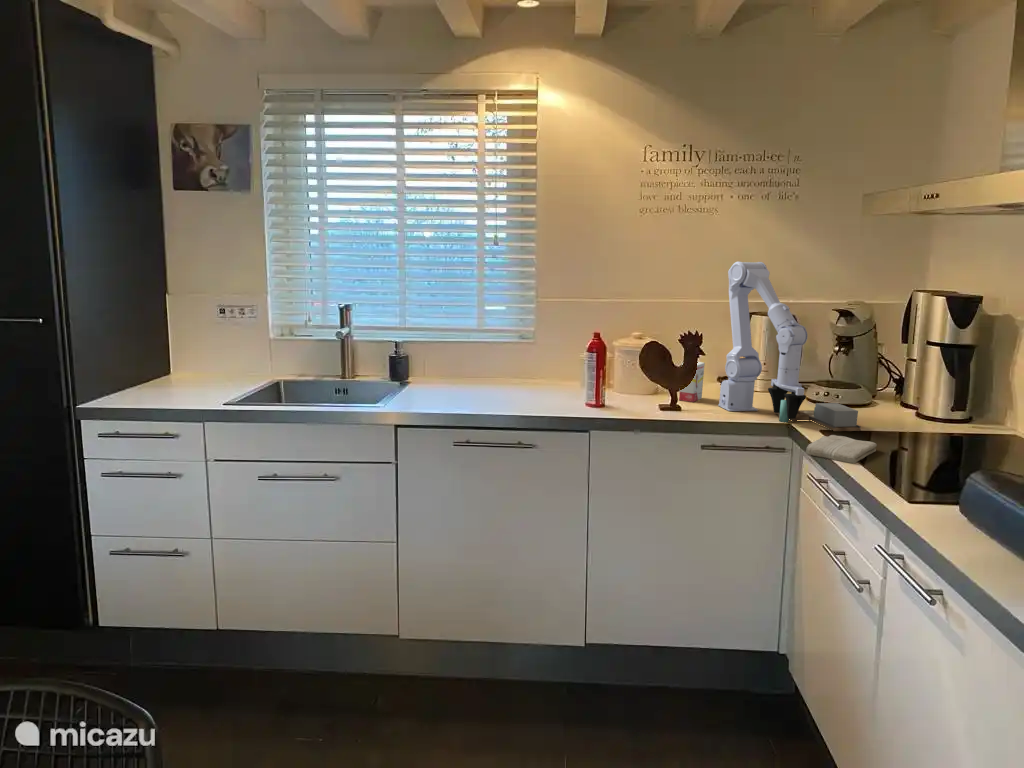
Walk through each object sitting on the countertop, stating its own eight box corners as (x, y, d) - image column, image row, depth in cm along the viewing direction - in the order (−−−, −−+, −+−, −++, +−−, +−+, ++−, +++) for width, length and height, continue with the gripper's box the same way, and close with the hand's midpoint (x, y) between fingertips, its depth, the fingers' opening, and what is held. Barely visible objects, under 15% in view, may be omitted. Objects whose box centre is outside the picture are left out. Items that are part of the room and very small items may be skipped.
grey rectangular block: (834, 426, 223) (835, 411, 222) (814, 418, 233) (815, 403, 232) (856, 426, 224) (858, 410, 224) (835, 418, 234) (837, 403, 233)
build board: (792, 421, 232) (793, 415, 232) (774, 413, 242) (775, 407, 242) (809, 421, 233) (810, 414, 233) (790, 413, 243) (791, 406, 243)
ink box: (693, 402, 254) (696, 365, 252) (678, 400, 257) (680, 363, 255) (702, 398, 261) (705, 362, 259) (688, 396, 264) (690, 360, 262)
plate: (833, 431, 222) (835, 419, 222) (791, 413, 243) (792, 402, 243) (860, 430, 224) (861, 419, 223) (816, 412, 245) (817, 402, 244)
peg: (781, 422, 231) (783, 401, 230) (777, 420, 233) (779, 399, 232) (790, 422, 231) (792, 401, 230) (785, 420, 234) (787, 399, 233)
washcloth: (877, 452, 204) (879, 440, 203) (855, 466, 190) (856, 453, 189) (829, 443, 211) (830, 431, 210) (804, 456, 197) (805, 444, 197)
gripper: (816, 372, 223) (811, 421, 226) (788, 364, 237) (784, 409, 240) (792, 372, 222) (787, 421, 224) (766, 364, 236) (762, 410, 238)
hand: (784, 415), depth 232 cm, fingers open, 7 cm apart
